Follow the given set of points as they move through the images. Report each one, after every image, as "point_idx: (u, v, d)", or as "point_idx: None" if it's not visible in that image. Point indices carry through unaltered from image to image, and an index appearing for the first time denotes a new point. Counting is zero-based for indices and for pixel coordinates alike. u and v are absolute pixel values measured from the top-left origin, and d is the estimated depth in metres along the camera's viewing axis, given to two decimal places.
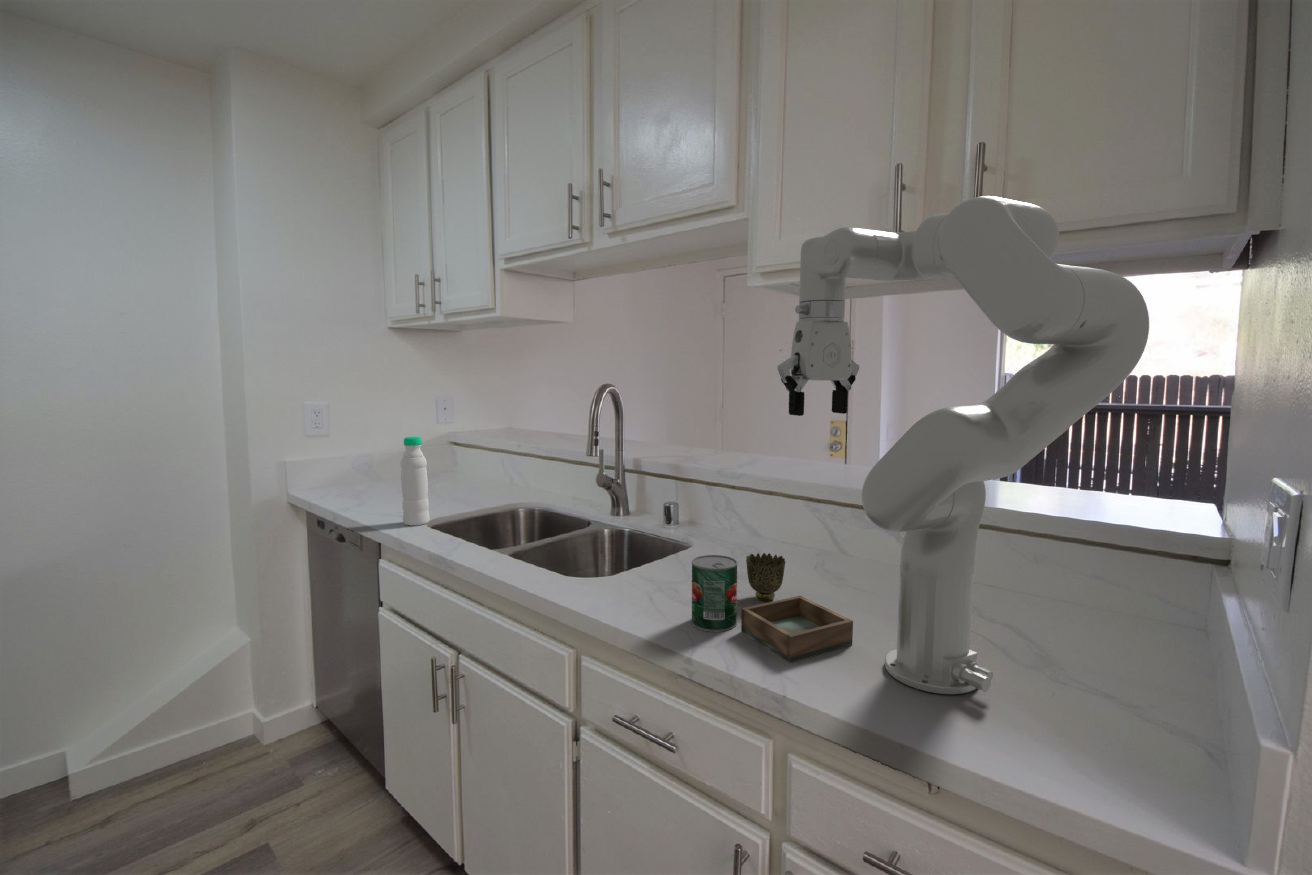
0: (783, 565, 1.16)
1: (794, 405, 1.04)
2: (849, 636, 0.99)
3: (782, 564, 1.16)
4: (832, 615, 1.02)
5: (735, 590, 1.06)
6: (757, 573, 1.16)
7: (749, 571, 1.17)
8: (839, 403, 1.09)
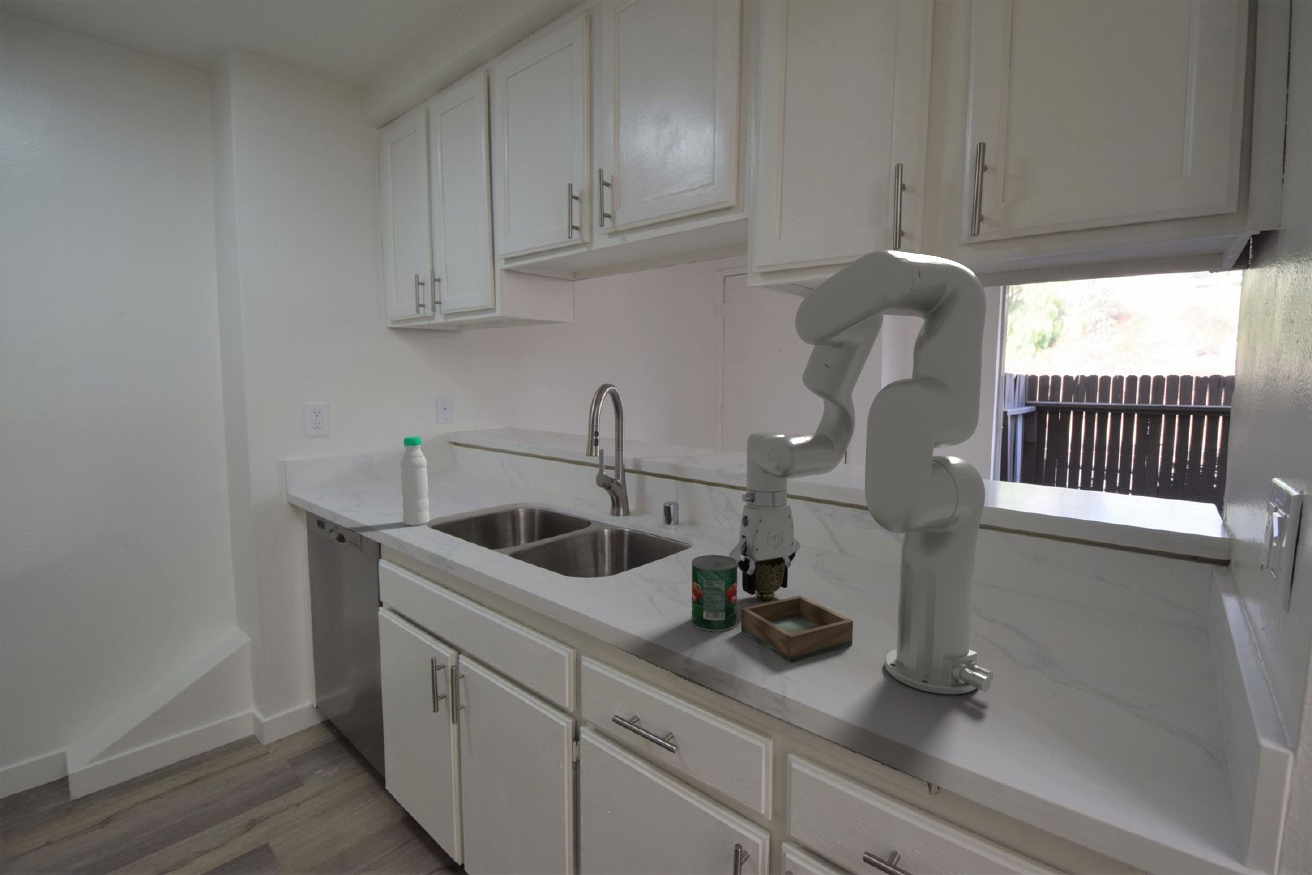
0: (783, 565, 1.16)
1: (746, 585, 1.16)
2: (849, 636, 0.99)
3: (782, 564, 1.16)
4: (832, 615, 1.02)
5: (735, 590, 1.06)
6: (757, 573, 1.16)
7: None
8: None
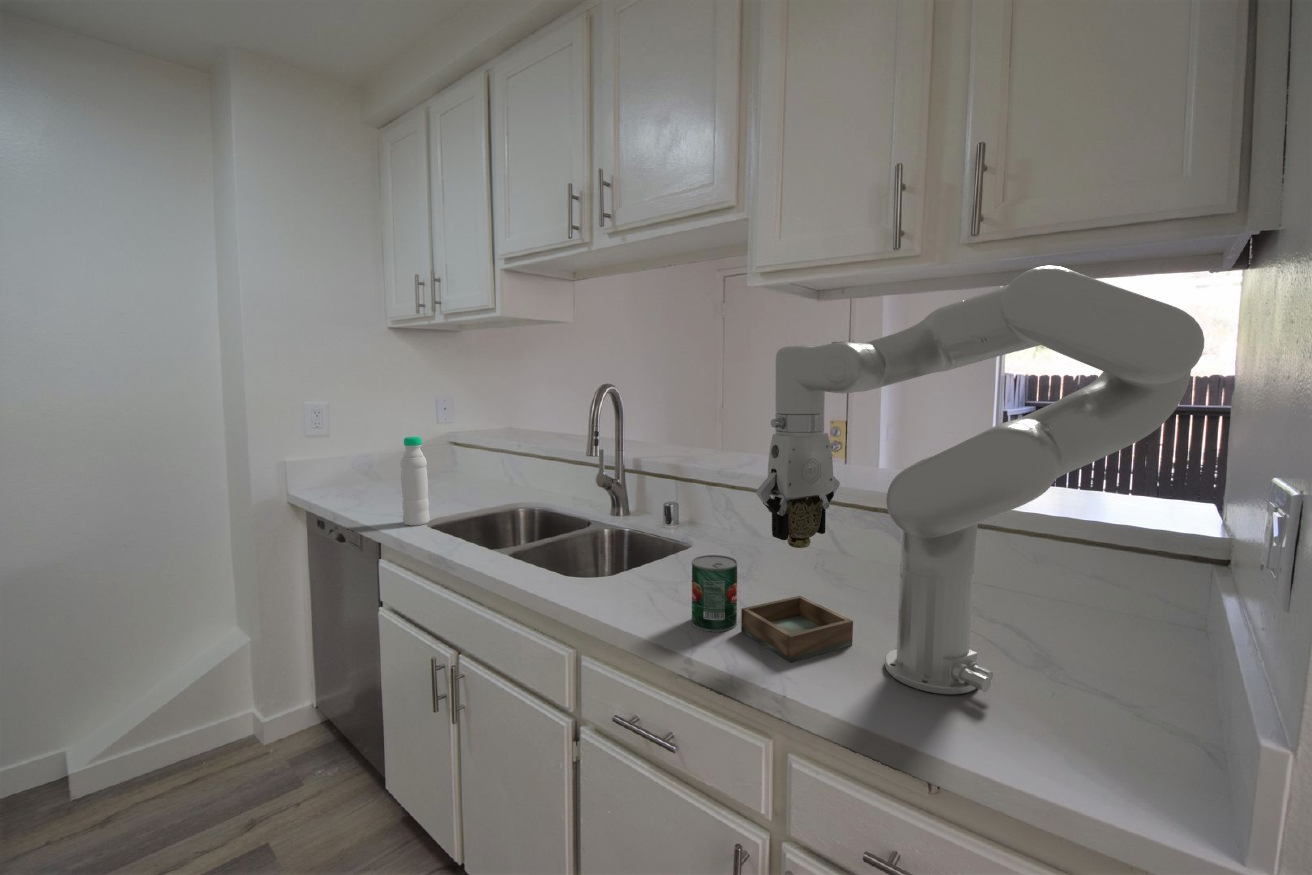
0: (821, 504, 0.97)
1: (777, 529, 0.97)
2: (849, 636, 0.99)
3: (820, 503, 0.97)
4: (832, 615, 1.02)
5: (735, 590, 1.06)
6: (790, 513, 0.97)
7: None
8: None
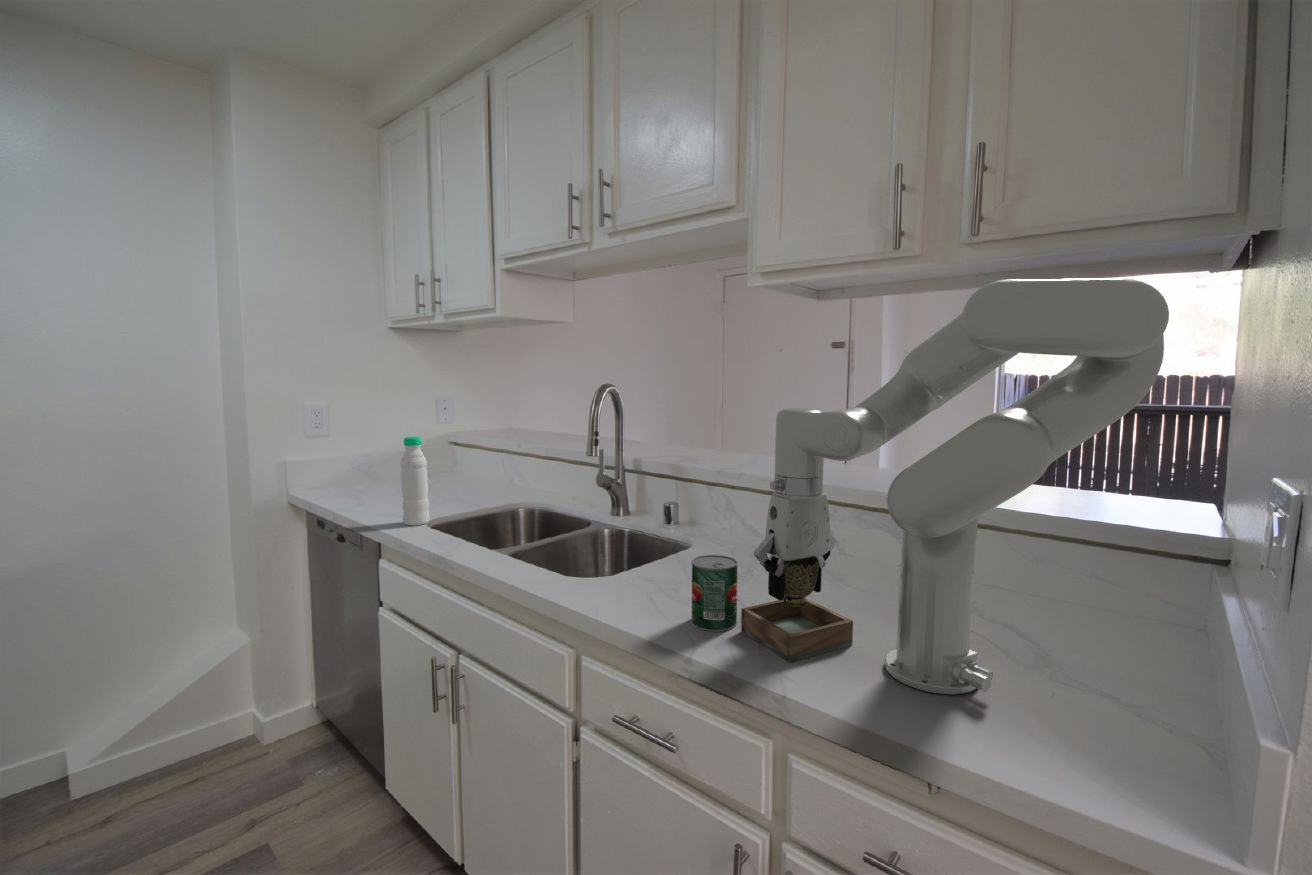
0: (817, 565, 0.98)
1: (774, 589, 0.98)
2: (849, 636, 0.99)
3: (816, 564, 0.98)
4: (832, 615, 1.02)
5: (735, 590, 1.06)
6: (786, 574, 0.98)
7: None
8: None
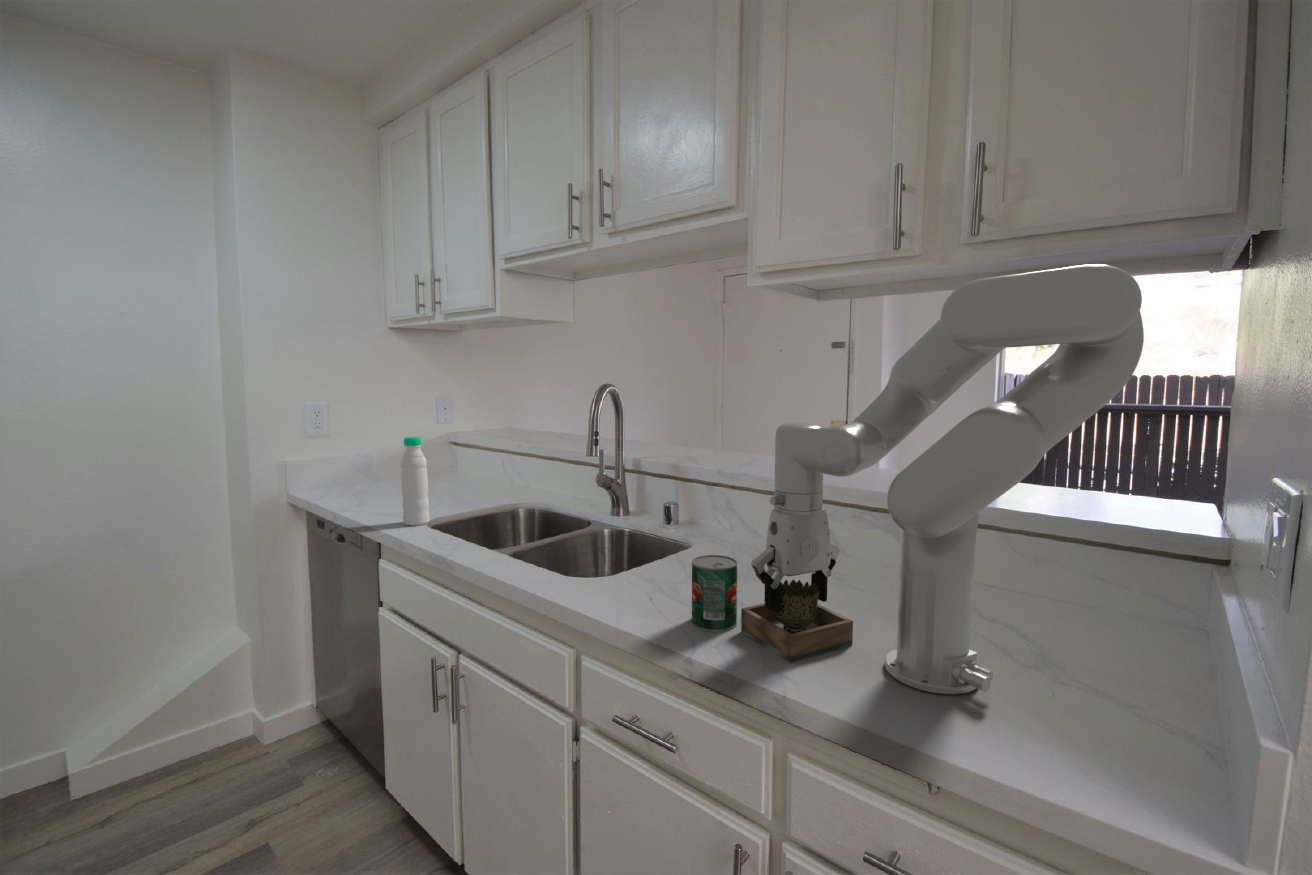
0: (817, 596, 0.98)
1: (770, 601, 0.98)
2: (849, 636, 0.99)
3: (816, 594, 0.98)
4: (832, 615, 1.02)
5: (735, 590, 1.06)
6: (786, 605, 0.98)
7: None
8: (819, 590, 1.02)
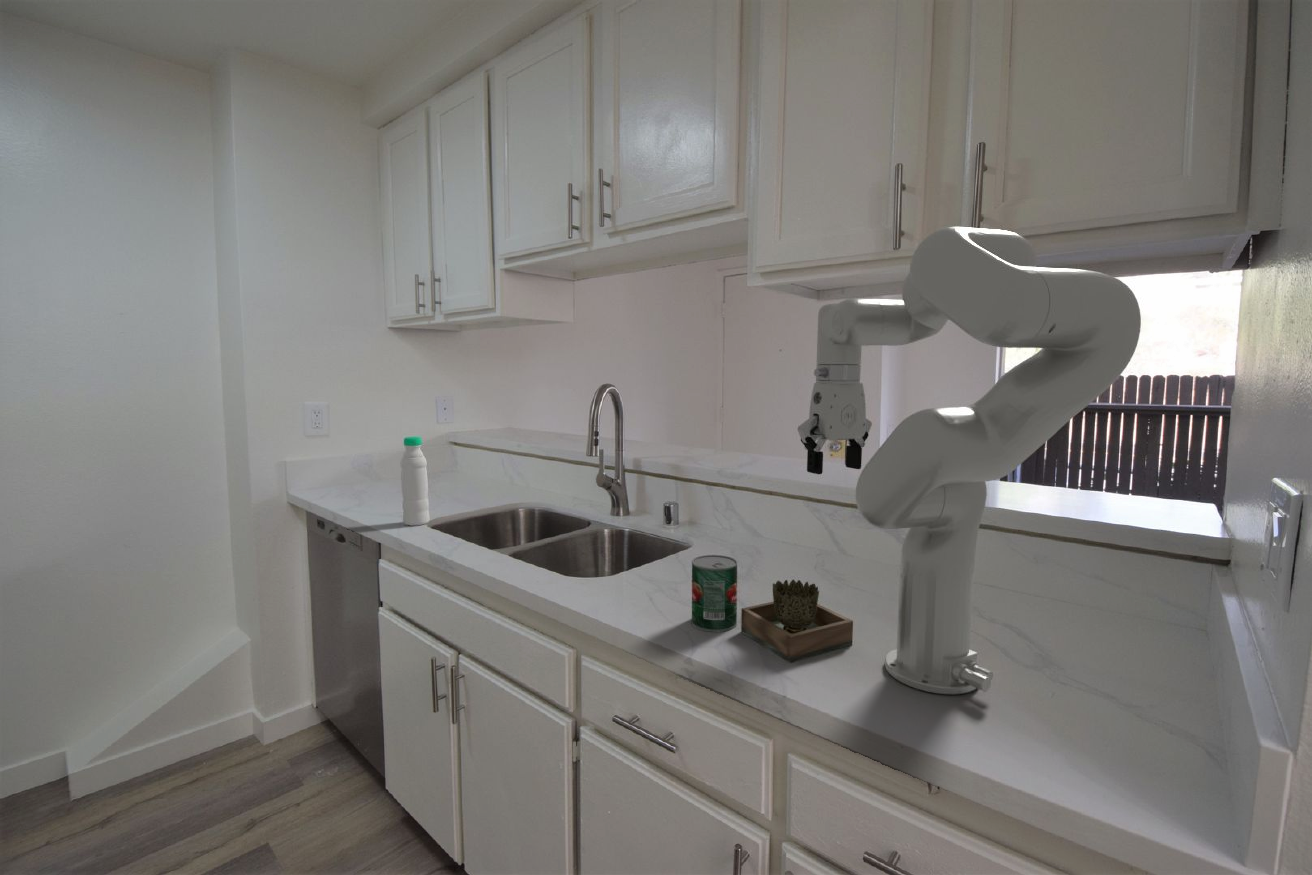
0: (817, 596, 0.98)
1: (813, 464, 1.08)
2: (849, 636, 0.99)
3: (816, 595, 0.98)
4: (832, 615, 1.02)
5: (735, 590, 1.06)
6: (786, 605, 0.98)
7: (776, 602, 0.99)
8: (854, 459, 1.13)
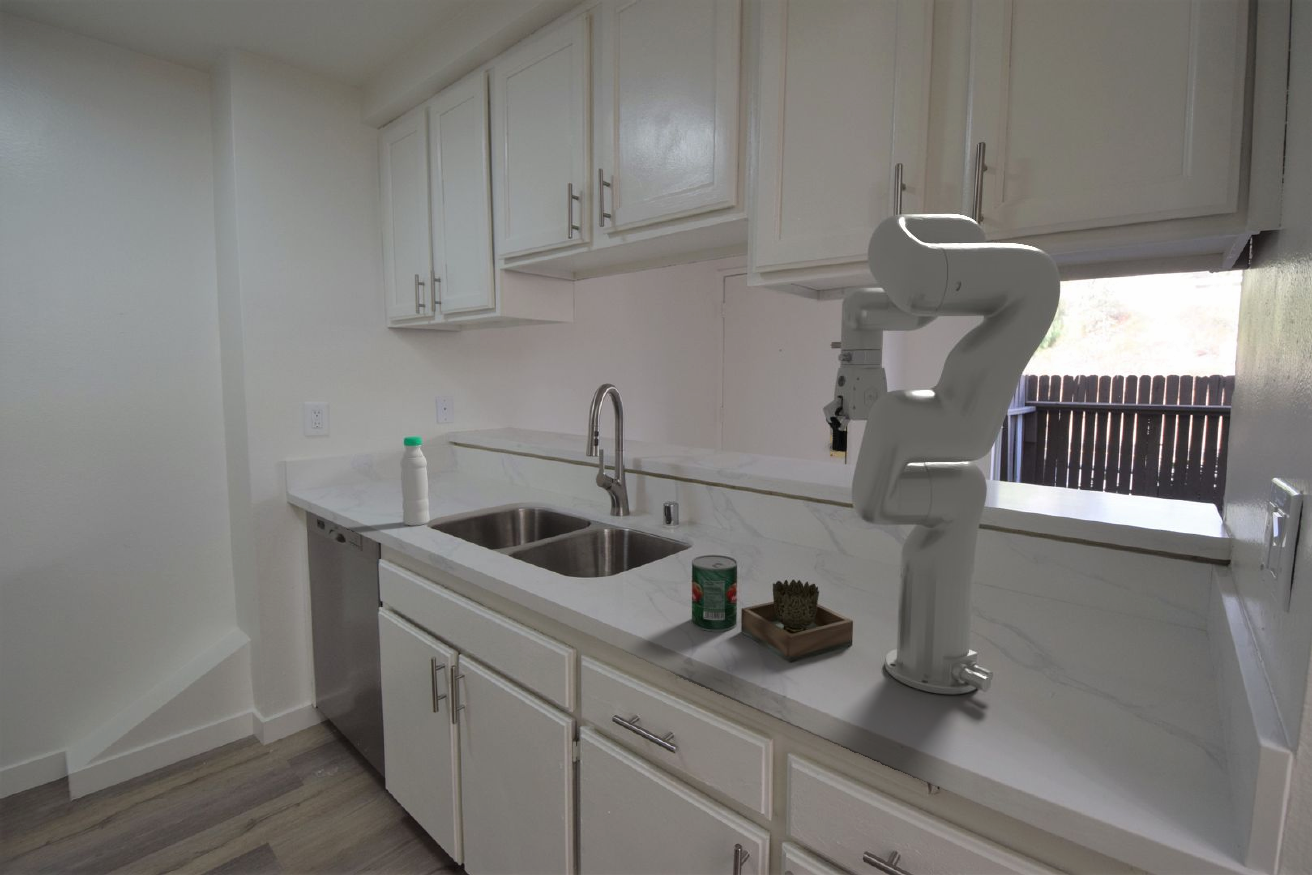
0: (817, 596, 0.98)
1: (838, 442, 1.17)
2: (849, 636, 0.99)
3: (816, 595, 0.98)
4: (832, 615, 1.02)
5: (735, 590, 1.06)
6: (786, 605, 0.98)
7: (776, 602, 0.99)
8: None
